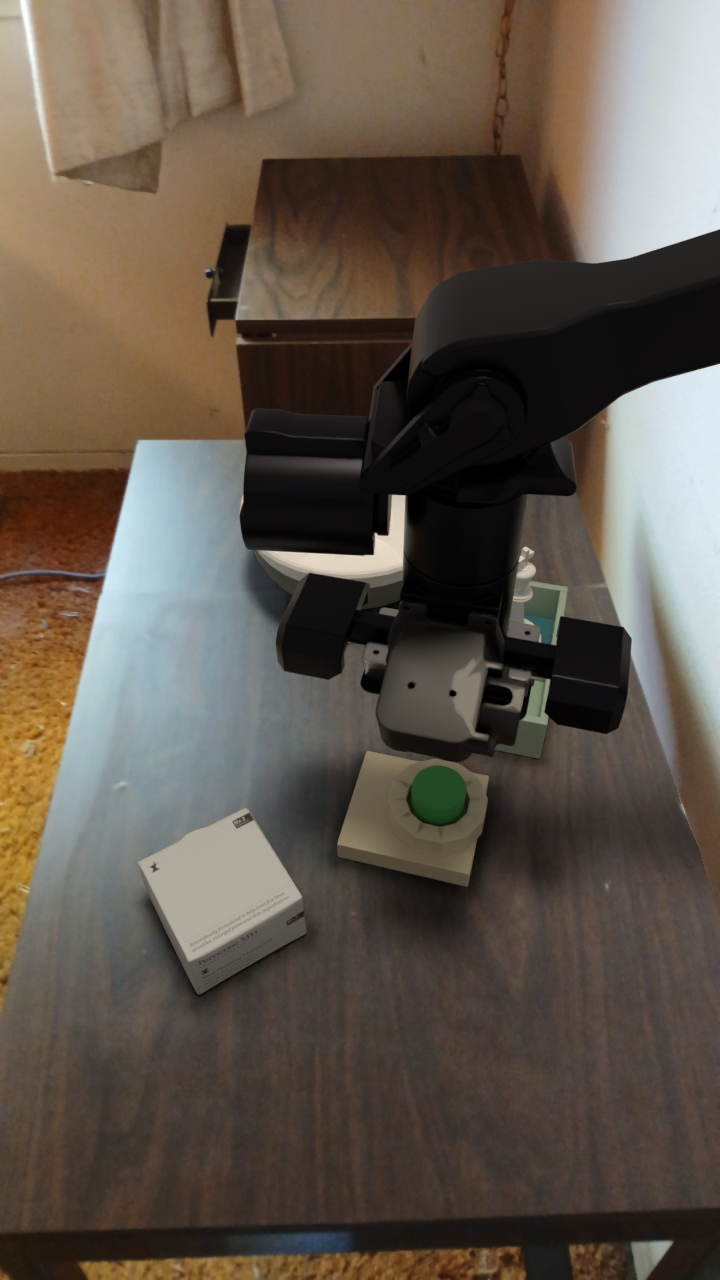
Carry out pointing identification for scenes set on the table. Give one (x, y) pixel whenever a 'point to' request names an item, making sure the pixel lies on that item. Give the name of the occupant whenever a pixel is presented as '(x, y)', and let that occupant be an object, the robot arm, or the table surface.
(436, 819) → the button
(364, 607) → the bowl
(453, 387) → the robot arm
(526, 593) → the chess piece
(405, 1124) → the table surface
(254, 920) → the small box
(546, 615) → the green divided tray
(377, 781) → the beige button base
